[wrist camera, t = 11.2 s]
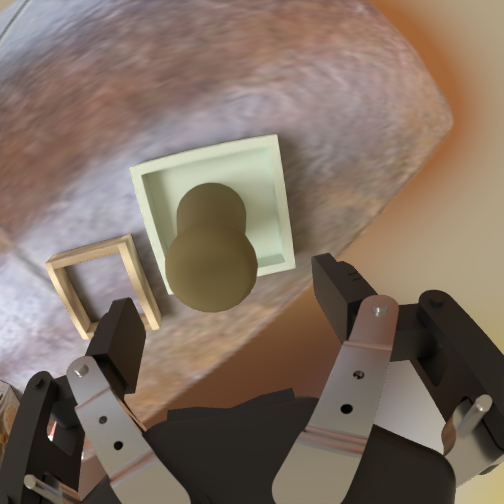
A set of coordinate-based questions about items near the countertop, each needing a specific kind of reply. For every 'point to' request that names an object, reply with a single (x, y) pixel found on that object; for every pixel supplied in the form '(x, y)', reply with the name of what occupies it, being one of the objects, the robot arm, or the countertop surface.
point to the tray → (229, 174)
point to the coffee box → (6, 415)
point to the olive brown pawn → (211, 250)
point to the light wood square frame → (94, 251)
